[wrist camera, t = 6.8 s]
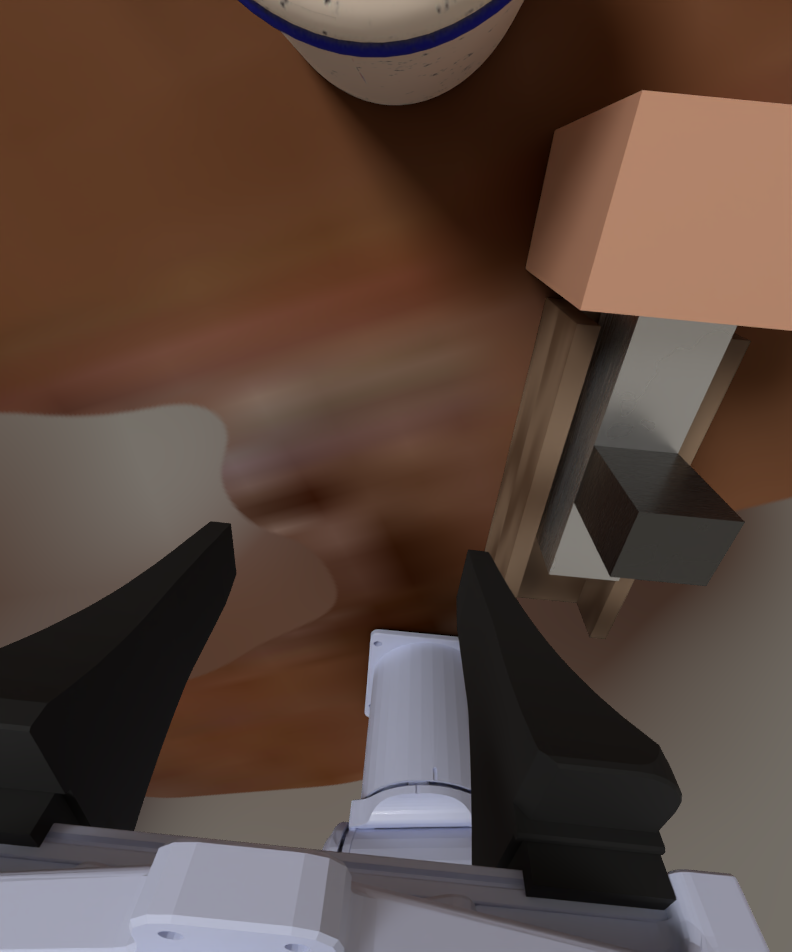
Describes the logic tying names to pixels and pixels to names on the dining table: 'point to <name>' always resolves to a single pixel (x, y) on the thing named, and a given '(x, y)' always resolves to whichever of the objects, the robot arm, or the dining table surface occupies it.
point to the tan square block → (671, 211)
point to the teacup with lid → (391, 42)
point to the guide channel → (538, 453)
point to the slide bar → (639, 460)
